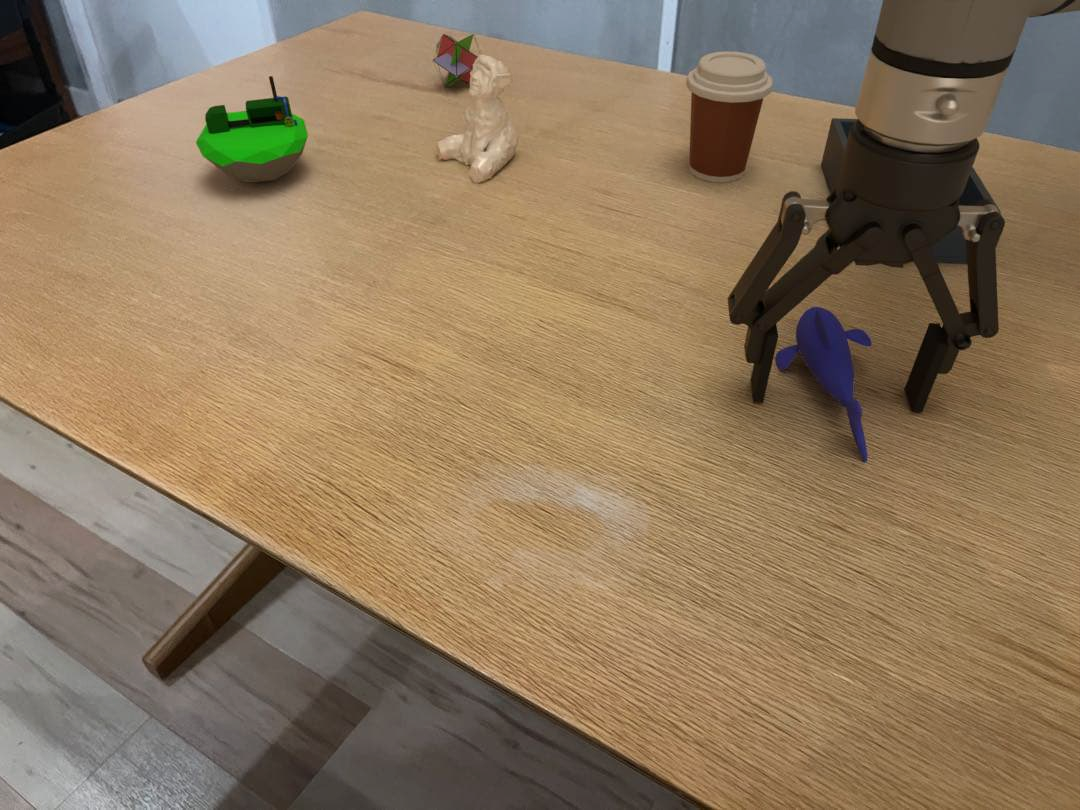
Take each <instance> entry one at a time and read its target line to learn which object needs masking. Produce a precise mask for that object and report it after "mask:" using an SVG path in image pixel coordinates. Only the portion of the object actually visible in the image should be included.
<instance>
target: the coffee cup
mask: <svg viewBox="0 0 1080 810" xmlns="http://www.w3.org/2000/svg"><path fill="white" fill-rule="evenodd" d="M766 68H767V64H766V63H765V61H764V60H763V59H762V58H760V57H758V56H756V55H754V54H752V53H751V54H749V53H746V52H742V51H741V52H740V51H731V50H728V51H727V50H726V51H716V52H715V51H714V52H711V53H708V54H706V55H703V56H701V58H700V59H699V61H698V63H697V66H695V68H694V69H692V70H691V71H689V73H688V74H687V77H686V81H685V86H686V87H687V89H688V90H689V92H691V100H690V123H689V124H690V126H689V127H690V128H689V129H690V130H689V156H688V157H689V158H688V160H689V162H688V170H689V173H690V174H692V175H693V176H694V177H696V178H698V179H700V180H704V181H706V182H713V183H731V182H735V181H737V180H740V179H741V178H743V176H745V174H746V170H747V169H746V168H747V164H748V160H749V157H750V152H751V148H752V144H753V140H754V137H755V133H756V129H757V125H758V120H759V118H760V115H761V114H760V113H761V110H762V105H763V102H764V98H766V97H767V96H769V95H771V94H772V90H773V85H774V79H773V77H771V75H770V74H769V73H768V72H767V71H766Z"/></svg>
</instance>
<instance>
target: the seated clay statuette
mask: <svg viewBox="0 0 1080 810" xmlns="http://www.w3.org/2000/svg"><path fill="white" fill-rule="evenodd" d="M477 56H478V57H477V59H476V60H475V63H474V64H473V70H472V71H471V72H470V75H471V77H470V85H469V89H468V93H467V94H468V95H469V97H468V101H467V107H466V108H465V109H464V111H463V116H464V121H465V125H464V127H465V131H464V133H459V134H452V135H449V136H444V138H443V139H441V140H439V141H436V142H435V149H436V153H437V154H436V155H437V157H438V160H444V161H447V160H456V161H458V162H460V163H462V164H463V165H465V166H469V167H470V169H469V175H470V178H471V179H472V181H473V183H477V184H480V183H484V182H486V181H487V180H492V177H493V176H494V175H495V174H496V173H498V171H499V170H502V168H503V167H504V166H506V165H507V163H508V162H509V161H510V160H511V159H512V158H513V157H514V155H515V154H516V149H517V147H518V145H519V139H520V136H519V134H518V133H517V131H516V128H515V126H513V122H512V120H510V116H509V114H508V113H509V111H508V109H507V107H506V106H505V104H504V101H503V100H502V99H501V98H500V97H501V96H502V94H503V93H504V92H505V89H506V88H508V87H509V86H510V85H511V84H512V82H513V74H512V72H511V73H510V72H509V70H508V67H506V66H505V64H504V63H503V62H502V61H501V60H497V58H496V57H492V56H491V55H485V54H483V53H482V54H481V53H480V54H478V55H477Z"/></svg>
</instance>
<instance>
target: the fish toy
mask: <svg viewBox="0 0 1080 810" xmlns="http://www.w3.org/2000/svg"><path fill="white" fill-rule="evenodd" d="M795 341H796V344H793V345H788V346H786V347H783V348H781V349H779V350H778V351H777V353H776V354H775V357H774V358H775V359H774V360H775V365H776V367H777V368H778V369H779V370H781V371H784V370H786V369H787V368H788V367H789V366H790V364H791V363H792V362H793V360H794V359H795V358H796V356H797V354H798V353H800V355H801V357H802V359H803V361H804V362H805V364H806V366H807V368H808V370H809V371H810V373H811V374H812V376H813V377H814V378H815V379H816V380H817V382H818V384H819V385H820V386H821V387H822V388H823V389H824V390H825V392H826V393H828V394H829V395H830V396H832V397H833V398H834V399H835V400H836V401H837V402H838V403H839V404H840V405H841V406H842V407H843V408H844V409H845V411H846V416H847V420H848V424H849V428H850V432H851V435H852V438H853V441H854V443H855V446H856V449H857V450H858V452H859V455H860V456H861V459H862V460H863V462H865V463H867V462H868V450H867V443H866V438H865V432H864V429H863V421H862V417H863V409H862V405H861V403H860V402H859V401H858V400H857V398H854V391H855V388H854V384H855V378H856V377H855V368H854V363H853V362H854V361H853V356H852V352H851V348H850V344H849V341H852V342H854V343H856V344H858V345H861V346H864V347H872V345H873V342H872V338H871V337H870V336H869V334H868V333H867V332H865V330H864V329H861V328H852V329H847V330H845V328H844V326H843V325H842V323H841V321H840V319H839V318H838V317H837V316H836V315H835V314H834V313H833V312H831V310H829V309H826V308H823V307H822V306H811V307H810V308H808V309H806V310H805V311H804V312H803V313H802V314H801V316H800V317H799V319H798V322H797V324H796V329H795Z"/></svg>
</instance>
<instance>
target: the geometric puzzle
mask: <svg viewBox="0 0 1080 810" xmlns="http://www.w3.org/2000/svg"><path fill="white" fill-rule="evenodd" d="M473 38H476V36H475V33H472V34H470V35H469V36H467V37H464V38H462V39H461V40H459V41H457V40H456V39H455V38H454V37H452V35H449V34H446V33H442V35H441V37H440V38H439V40H438V42H437V43H436V51H435V52H436V54H434V56H433V57H434V58H433V59H431V61H432V62H433V64H434V66H435V68H437V67H438V70H439V74H438V75H439V78H440V80H441V81H442V84H443V87H444V89H446V88H448V87H450V85H453V84H454V83H456V82H457V81H460V80H461V81H462V82H464V83H466V84H468V86H470V77H471V75H470V72H471V71H472V70H473V64H474V63H475V60H476V59H477V57H478V56H479V55H476V54H474V52H471V51H470V50H471V46H472V42H473ZM475 42H476V43H475V44H476V46H477V50H478V53H479V54H480V55H481V54H483V53H482V52H481V51H480V50H481V49H480V48H481V47H479V44H478V42H477V39H475ZM435 55H436V57H435ZM435 64H437V67H436V65H435ZM440 67H441V68H443V69H444V70H445V71H447V72H448V73H447V78H446V81H445V83H444V80H443V76H442V75H441V74H442V73H441V72H442V71H441V70H440ZM440 75H441V76H440Z"/></svg>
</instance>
